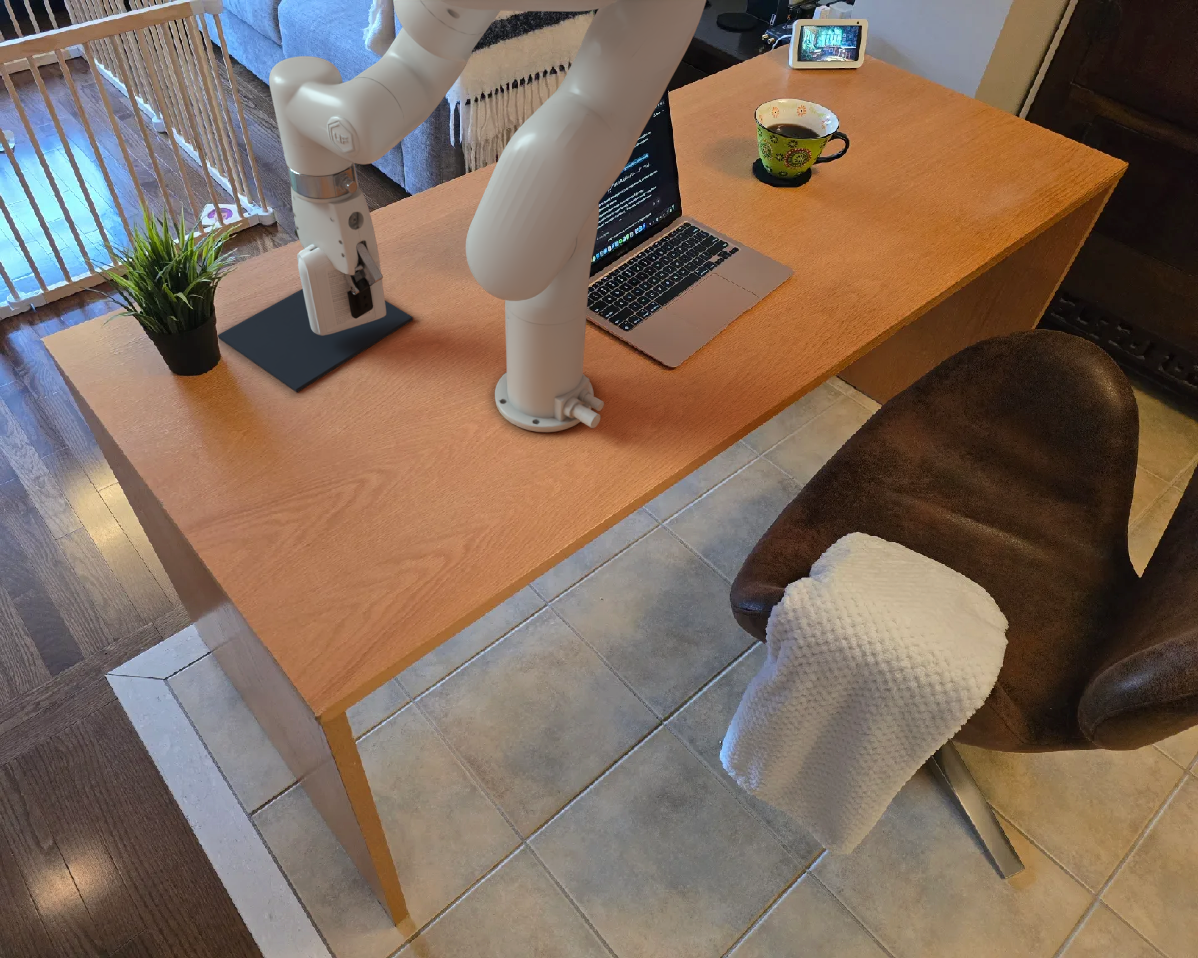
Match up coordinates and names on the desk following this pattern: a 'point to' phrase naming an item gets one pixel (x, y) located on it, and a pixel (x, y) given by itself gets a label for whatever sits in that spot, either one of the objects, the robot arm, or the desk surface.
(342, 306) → the photo printer
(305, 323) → the desk mat
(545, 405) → the robot arm
